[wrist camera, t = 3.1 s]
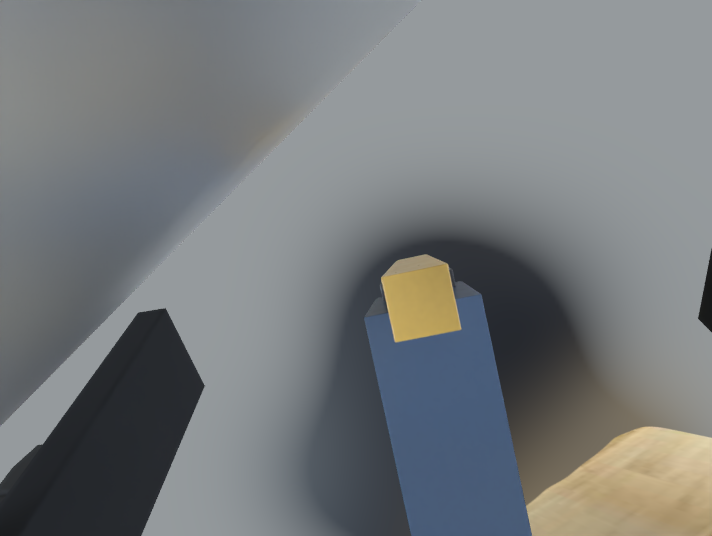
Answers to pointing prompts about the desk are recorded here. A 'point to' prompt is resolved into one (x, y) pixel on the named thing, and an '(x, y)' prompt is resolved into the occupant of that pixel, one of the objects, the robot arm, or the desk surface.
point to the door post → (449, 425)
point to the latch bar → (420, 298)
